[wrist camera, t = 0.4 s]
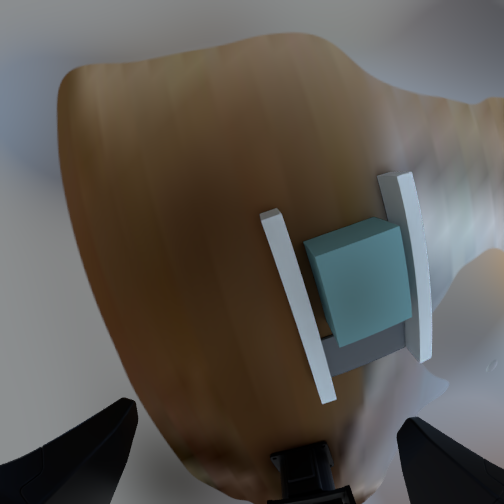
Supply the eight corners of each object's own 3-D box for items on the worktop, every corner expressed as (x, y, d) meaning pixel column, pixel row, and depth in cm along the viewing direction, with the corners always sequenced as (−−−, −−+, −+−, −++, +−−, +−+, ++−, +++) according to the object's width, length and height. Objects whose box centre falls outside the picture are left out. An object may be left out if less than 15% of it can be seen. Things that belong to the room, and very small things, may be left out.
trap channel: (415, 340, 21) (431, 357, 18) (315, 381, 22) (322, 404, 19) (390, 171, 17) (411, 171, 15) (259, 213, 18) (260, 220, 15)
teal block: (388, 294, 20) (412, 316, 16) (325, 319, 21) (339, 347, 17) (373, 216, 19) (399, 225, 15) (302, 241, 19) (315, 256, 15)
